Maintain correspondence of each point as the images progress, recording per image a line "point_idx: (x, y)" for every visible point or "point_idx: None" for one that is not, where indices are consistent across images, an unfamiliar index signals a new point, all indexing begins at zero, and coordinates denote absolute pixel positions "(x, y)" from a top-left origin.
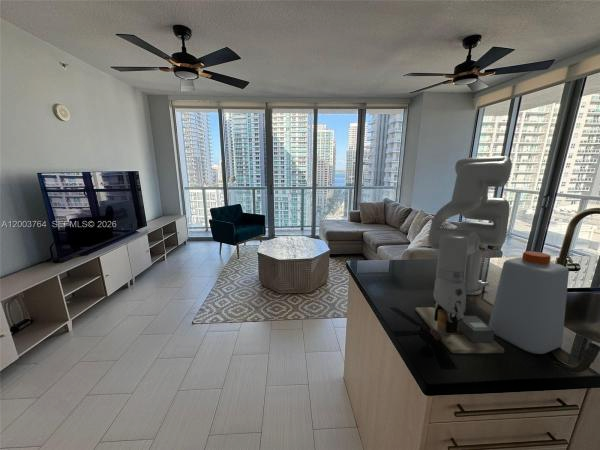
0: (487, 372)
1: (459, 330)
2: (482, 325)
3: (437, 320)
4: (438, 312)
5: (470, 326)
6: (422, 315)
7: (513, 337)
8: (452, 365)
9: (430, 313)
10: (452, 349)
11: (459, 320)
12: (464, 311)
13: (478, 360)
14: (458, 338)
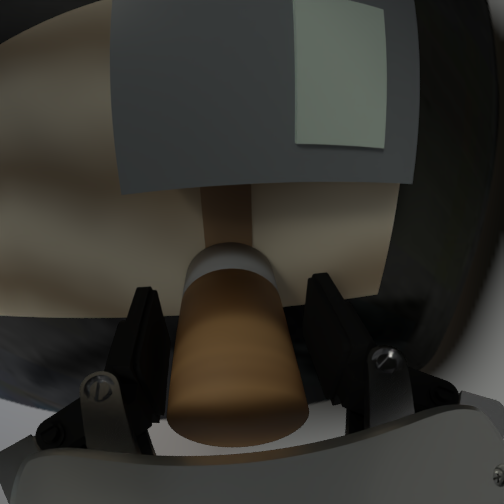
0: (468, 204)
1: None
2: (351, 28)
3: (167, 337)
4: (235, 443)
5: (352, 169)
6: (52, 316)
7: None
8: (415, 306)
9: (16, 266)
10: (374, 294)
11: (443, 389)
12: (490, 425)
13: (425, 192)
14: (296, 217)
